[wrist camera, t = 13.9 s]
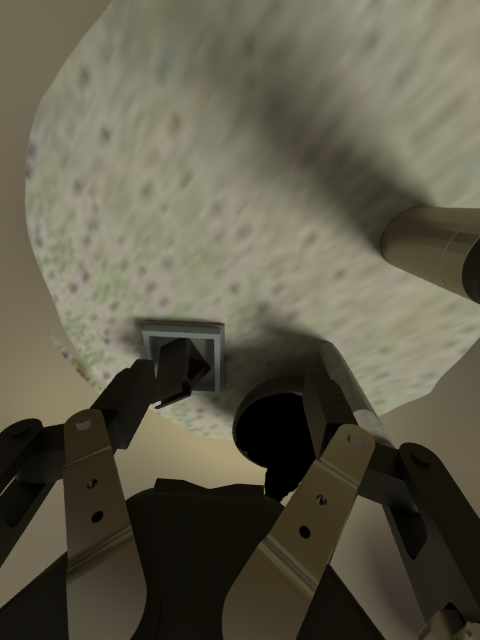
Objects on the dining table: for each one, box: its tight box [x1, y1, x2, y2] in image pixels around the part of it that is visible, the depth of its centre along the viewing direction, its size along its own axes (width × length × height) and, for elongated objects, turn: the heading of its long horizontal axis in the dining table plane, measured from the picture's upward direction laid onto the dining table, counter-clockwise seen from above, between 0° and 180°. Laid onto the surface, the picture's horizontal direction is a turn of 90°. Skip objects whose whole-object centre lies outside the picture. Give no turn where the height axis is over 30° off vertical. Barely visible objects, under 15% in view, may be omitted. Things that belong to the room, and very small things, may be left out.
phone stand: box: [151, 337, 211, 409], centre depth 45 cm, size 9×6×12 cm, turn 28°
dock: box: [142, 320, 225, 396], centre depth 50 cm, size 15×15×3 cm
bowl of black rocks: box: [232, 378, 316, 503], centre depth 46 cm, size 20×20×19 cm
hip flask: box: [318, 342, 396, 449], centre depth 42 cm, size 16×4×20 cm, turn 30°
